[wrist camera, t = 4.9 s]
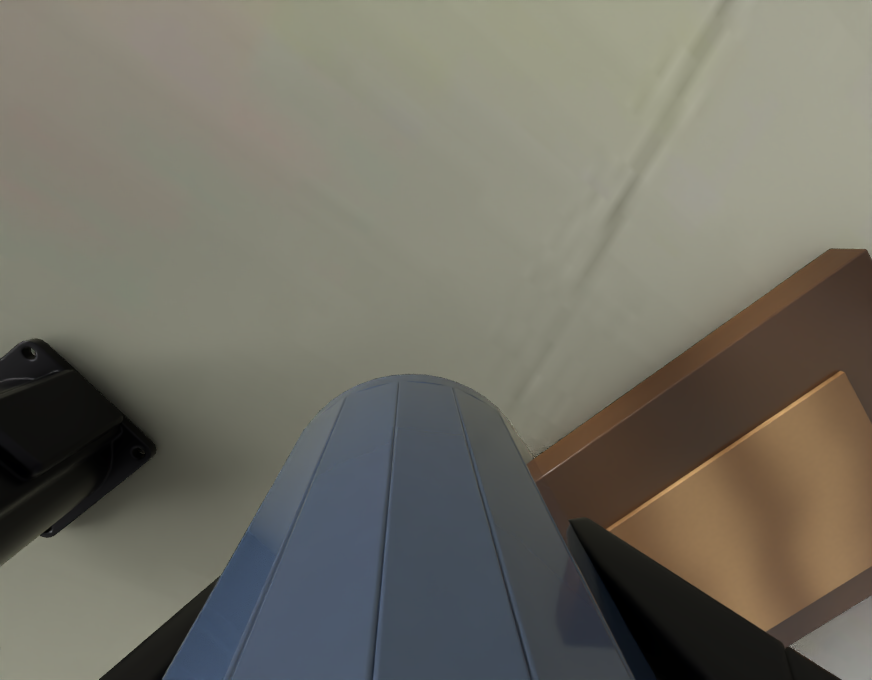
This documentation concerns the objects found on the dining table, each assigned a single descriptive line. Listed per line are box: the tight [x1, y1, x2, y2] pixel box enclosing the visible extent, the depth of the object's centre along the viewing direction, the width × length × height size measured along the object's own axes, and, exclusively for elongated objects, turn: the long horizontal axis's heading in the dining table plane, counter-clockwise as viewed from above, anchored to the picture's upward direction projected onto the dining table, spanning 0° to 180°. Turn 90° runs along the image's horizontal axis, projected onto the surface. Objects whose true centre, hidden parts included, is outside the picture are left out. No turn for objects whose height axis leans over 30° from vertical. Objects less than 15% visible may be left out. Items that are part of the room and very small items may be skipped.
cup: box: [162, 374, 657, 680], centre depth 7 cm, size 6×6×8 cm
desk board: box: [534, 249, 872, 648], centre depth 20 cm, size 20×16×2 cm
